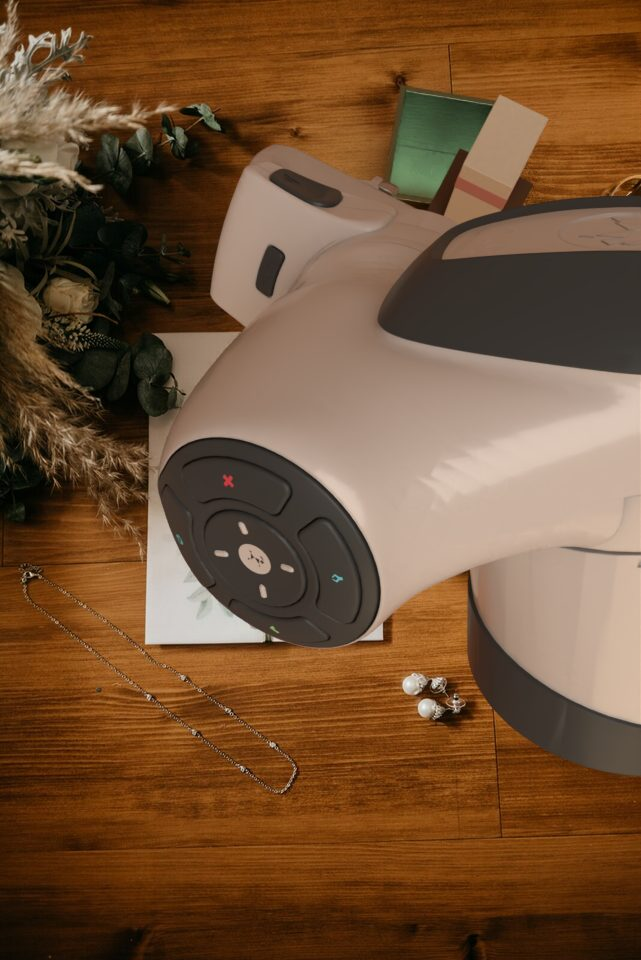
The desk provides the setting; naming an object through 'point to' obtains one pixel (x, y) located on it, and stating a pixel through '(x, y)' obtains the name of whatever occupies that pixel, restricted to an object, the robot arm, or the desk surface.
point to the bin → (430, 140)
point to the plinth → (451, 176)
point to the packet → (495, 160)
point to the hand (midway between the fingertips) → (455, 230)
